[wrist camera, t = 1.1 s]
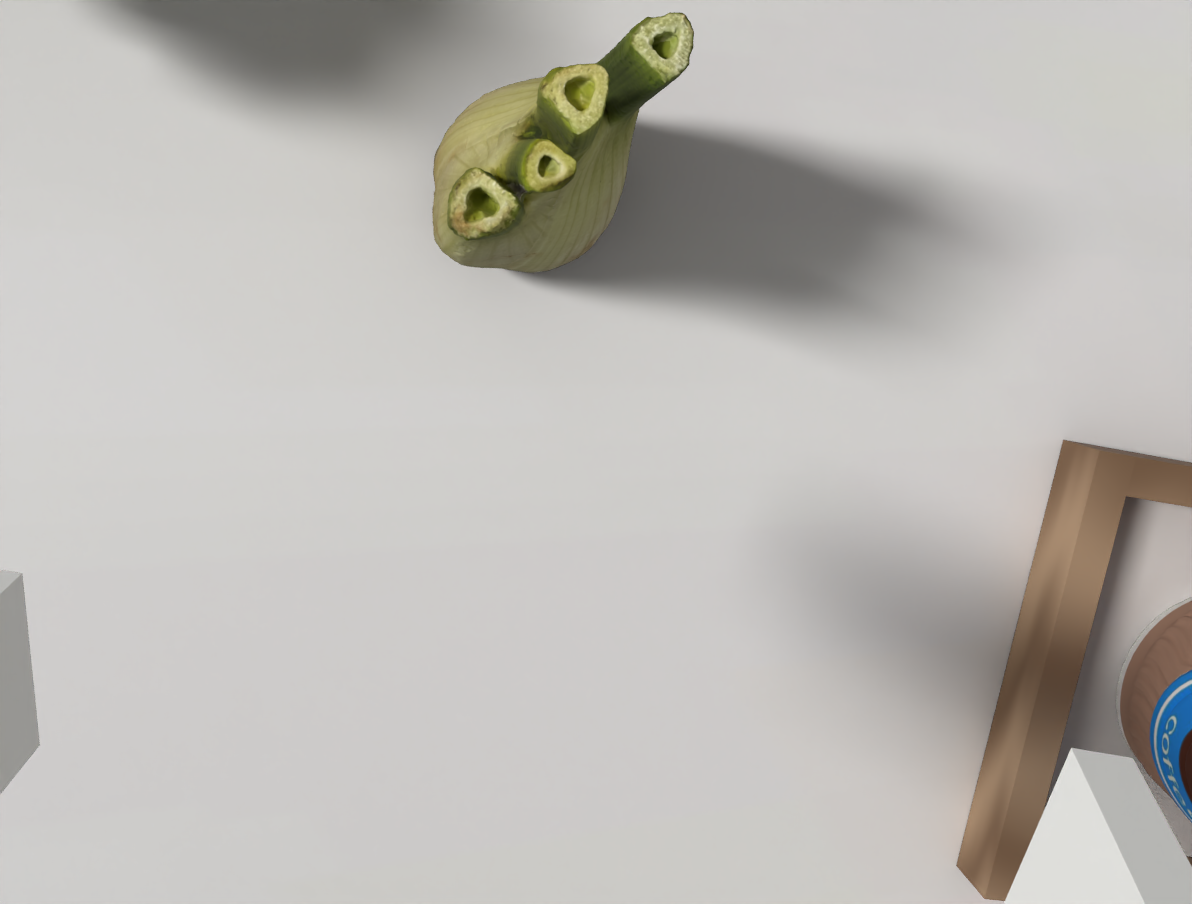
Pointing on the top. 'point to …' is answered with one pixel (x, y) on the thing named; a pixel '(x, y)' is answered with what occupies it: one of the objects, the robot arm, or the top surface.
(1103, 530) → the brown wooden square frame
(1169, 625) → the coffee cup
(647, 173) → the top surface
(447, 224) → the fennel bulb
